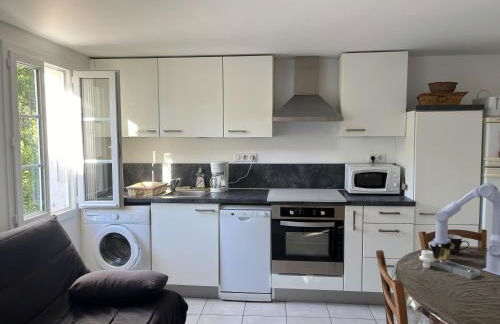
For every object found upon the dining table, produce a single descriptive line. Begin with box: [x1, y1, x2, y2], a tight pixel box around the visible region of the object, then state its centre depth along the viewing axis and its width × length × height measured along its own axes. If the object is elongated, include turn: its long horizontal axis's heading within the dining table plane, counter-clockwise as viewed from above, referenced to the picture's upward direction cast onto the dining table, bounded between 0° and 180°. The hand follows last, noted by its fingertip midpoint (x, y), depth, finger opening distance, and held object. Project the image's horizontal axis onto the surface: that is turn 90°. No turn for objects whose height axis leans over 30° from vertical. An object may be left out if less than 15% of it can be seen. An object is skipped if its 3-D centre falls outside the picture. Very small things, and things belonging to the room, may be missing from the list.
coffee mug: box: [447, 233, 470, 257], centre depth 198 cm, size 12×9×10 cm
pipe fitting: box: [418, 249, 436, 269], centre depth 179 cm, size 6×7×8 cm
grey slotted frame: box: [433, 259, 481, 280], centre depth 174 cm, size 18×8×3 cm, turn 31°
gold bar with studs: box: [433, 248, 450, 261], centre depth 189 cm, size 8×3×7 cm, turn 31°
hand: (440, 257), depth 190 cm, fingers open, 7 cm apart
